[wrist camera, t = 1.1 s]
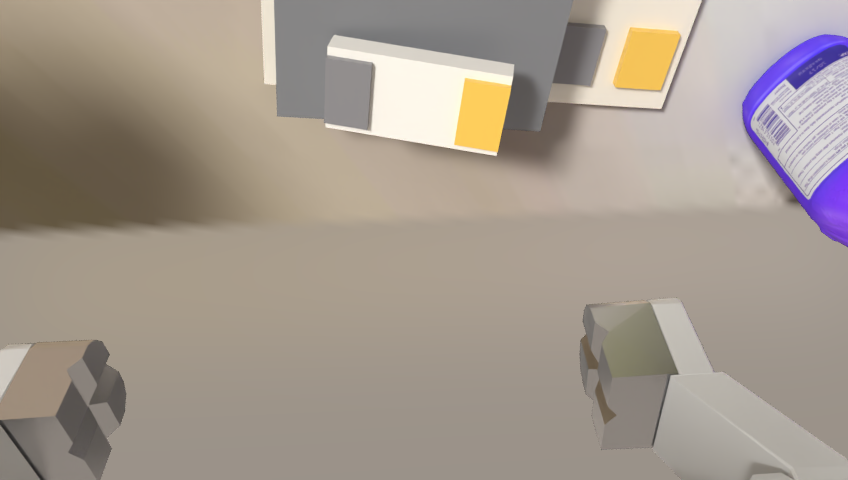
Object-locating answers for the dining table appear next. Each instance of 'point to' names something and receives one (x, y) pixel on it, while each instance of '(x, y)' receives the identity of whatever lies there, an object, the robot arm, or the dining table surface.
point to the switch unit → (491, 46)
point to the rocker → (416, 94)
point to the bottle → (807, 127)
